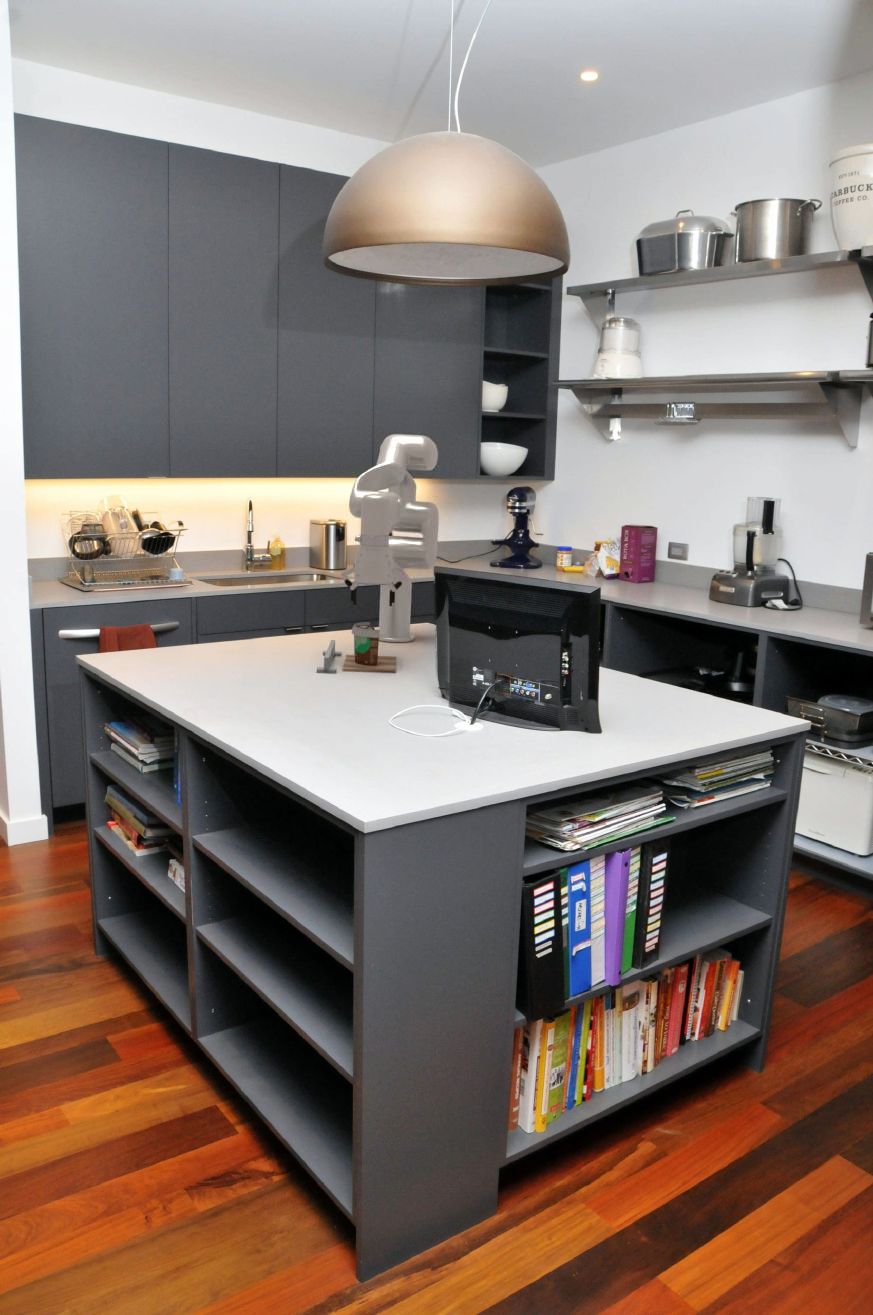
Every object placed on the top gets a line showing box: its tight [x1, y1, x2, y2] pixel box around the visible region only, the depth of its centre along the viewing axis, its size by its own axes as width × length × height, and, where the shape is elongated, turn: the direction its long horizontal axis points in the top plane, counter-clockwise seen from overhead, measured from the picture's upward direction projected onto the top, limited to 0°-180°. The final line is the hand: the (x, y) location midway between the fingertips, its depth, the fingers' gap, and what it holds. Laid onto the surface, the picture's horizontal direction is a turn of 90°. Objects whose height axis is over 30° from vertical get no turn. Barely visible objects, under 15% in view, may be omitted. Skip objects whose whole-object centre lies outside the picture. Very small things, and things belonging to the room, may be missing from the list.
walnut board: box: [342, 654, 397, 674], centre depth 272 cm, size 18×14×1 cm
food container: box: [351, 621, 380, 666], centre depth 270 cm, size 12×6×10 cm, turn 17°
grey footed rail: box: [316, 639, 343, 674], centre depth 271 cm, size 24×5×4 cm, turn 2°
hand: (372, 604), depth 269 cm, fingers open, 9 cm apart
